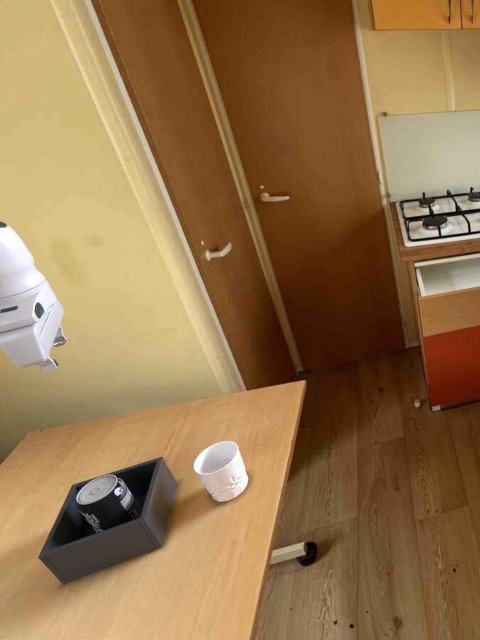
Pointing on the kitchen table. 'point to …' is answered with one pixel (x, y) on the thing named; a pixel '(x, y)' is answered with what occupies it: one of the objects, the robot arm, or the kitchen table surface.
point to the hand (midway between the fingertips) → (56, 356)
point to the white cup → (222, 470)
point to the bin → (118, 542)
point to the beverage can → (107, 503)
